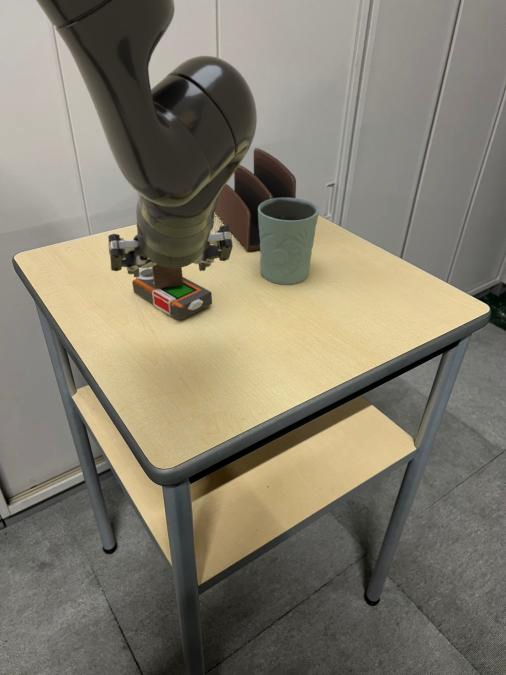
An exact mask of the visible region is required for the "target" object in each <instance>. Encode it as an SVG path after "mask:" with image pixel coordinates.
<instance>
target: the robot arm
mask: <svg viewBox="0 0 506 675" xmlns="http://www.w3.org/2000/svg"><path fill="white" fill-rule="evenodd" d="M35 1H36V2H37V4H38V5H39V7H40V9H41V10H42V11H43V13H44V14H45V16H46V17H47V19H48V20H49V22H50V23H51V25H52V26H54V29H55V31H56V32H57V34H58V35H59V36H60V38H61V39H62V41H63V43H64V44H65V46H66V47H67V49H68V51H69V52H70V54H71V57H72V59H73V61H74V63H75V66H76V67H77V69H78V71H79V73H80V76H81V78H82V80H83V82H84V85H85V88H86V89H87V92H88V94H89V96H90V99H91V102H92V104H93V106H94V109H95V111H96V114H97V117H98V119H99V122H100V125H101V128H102V131H103V133H104V136H105V139H106V142H107V144H108V147H109V150H110V152H111V154H112V157H113V159H114V161H115V163H116V165H117V167H118V169H119V170H120V172H121V174H122V175H123V177H124V179H125V180H126V181H127V182H128V184H129V185H130V187H131V188H132V189H134V191H136V192H137V195H138V196H137V197H138V198H137V201H136V209H135V210H136V213H135V215H136V233H137V234H136V235H134V237H133V239H126V240H125V238H123V237H121V236H120V234H117V233H112V234H109V235H108V237H107V238H108V254H109V257H110V269H111V271H113V272H119V271H121V270H122V268H126V271H127V274H128V275H133V278H136V277H139V269H141V268H145V269H148V268H150V267H152V266H155V265H157V264H158V265H160V266H163V267H167V268H181V267H182V268H184V267H187V266H190V265H192V264H195V265H198V270H199V272H203V271H206V269H207V268H209V267H211V265H212V264H213V263H215V259H216V260H217V259H218V260H219V261H220V262H227V261H228V260H230V257H231V253H232V250H233V248H234V245H233V240H232V232H231V231H230V226H228V225H225V224H223V225H221V226H219V227H218V228H219V229H217V230H215V232H214V233H213V232H212V230H213V228H214V225H215V214H216V213H215V208H216V205H217V202H218V197H219V194H220V192H221V191H222V189H223V188H224V186H225V185H226V184H228V182H229V181H230V179H232V176H234V172H235V170H236V169H237V167H238V166H239V165H241V163H242V162H243V160H244V158H245V157H246V155H247V153H248V151H249V149H250V148H251V146H252V143H253V140H254V138H255V135H256V131H257V124H258V122H257V120H258V118H257V117H258V115H257V106H256V101H255V98H254V94H253V92H252V89H251V87H250V86H249V84H248V82H247V80H246V79H245V77H244V76H243V75H242V73H241V72H240V71H239V70H238V69H237V68H236V67H235V66H233V64H231V63H229V62H227V61H226V60H224V59H222V58H219V57H217V56H213V55H198V56H194V57H191V58H189V59H186V60H184V61H183V62H181V63H180V64H179V65H177V66H175V68H174V69H173V70H171V71H170V72H169V73H168V74H167V75H166V76H164V77H163V79H161V80H160V81H159V82H158V83H156V84H155V85H154V86H153V87H152V88H151V80H150V71H149V70H150V69H149V68H150V67H149V66H150V63H151V59H152V57H153V54H154V52H155V50H156V48H157V46H158V44H160V42H161V41H162V39H163V37H164V36H165V34H166V32H167V31H168V29H169V27H170V26H171V24H172V22H173V19H174V17H175V11H176V6H175V0H35Z"/></svg>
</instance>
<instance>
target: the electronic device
mask: <svg viewBox="0 0 506 675" xmlns="http://www.w3.org/2000/svg"><path fill="white" fill-rule="evenodd" d="M182 277H183V285H181V286H173V287H165V288H157V289H155V285H154V281H153V275H152V267H150V268H148V269H145V268H139V277H135V278H134V279H132V282H131V283H132V284H131V285H132V289H133V293H134V294H136V295H138V296H139V297H141V298H143V299H144V300H146V301H147V302H149V303H151V304H152V305H153V307H155V308H156V309H158V310H160V311H161V312H163V313H165V314H167V315H168V316H170V317H173V318H175V319H177V320H179V321H180V320H182V319H184V318H186V317H188V316H191V315H193V314H194V313H197V312H199V311H201V310H203V309H205V308H207V307H209V306H211V305H213V296H212V294H213V293H212V291H210V290H209V289H207V288H204V287H203V286H201V285H200V284H197V283H195V282H193V281H191V280H190V279H188V278H186V277H184V276H182Z"/></svg>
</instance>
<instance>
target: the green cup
mask: <svg viewBox="0 0 506 675" xmlns="http://www.w3.org/2000/svg"><path fill="white" fill-rule="evenodd" d="M319 212H320V209H319V207H318V206H317V205H316V204H315V203H313V202H312V201H308V200H305V199H302V198H297V197H296V198H274V199H270V200H266V201H264V202H262V203H261V204H260V205H259V206H258V221H259V235H260V250H259V252H260V261H259V265H260V275H261V276H262V278H264V279H265V280H266V281H269V282H270V283H273V284H276V285H283V286H285V285H286V286H287V285H289V286H291V285H297V284H300V283H302V282H304V281H305V280H306V279H307V278H308V276H309V274H310V268H311V259H312V255H313V247H314V242H315V235H316V229H317V224H318V219H319Z"/></svg>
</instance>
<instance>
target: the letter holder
mask: <svg viewBox="0 0 506 675" xmlns="http://www.w3.org/2000/svg"><path fill="white" fill-rule="evenodd" d="M233 181H234V184H233V185H234V187H231V186H230V185H229V184H228V183H226V185H225V186H224V188H223V189H222V191H221V192H220V194H219V197H218V202H217V205H216V208H215V214H216V215H217V217H218V218H219V219H220V220H221V222H222V223H223V225H228V226H230V232H231V234H232V235H233V236H234V237H235V238H236V239H237V241H238V242H239V243H240V244H241V246H242V247H243V248H244V249H245V251H247V252H253V251H260V235H259V221H258V206H259V205H260V204H261V203H262V202H264V201H266V200H270V199H274V198H297V197H296V195H297V194H296V193H297V179H296V177H295V175H294V174H293V173H292V172H291V171H290V169H288V167H287V166H286V165H284V163H282V162H281V161H280V160H279V159H278V158H276V157H274V156H273V155H272V154H270V153H269V152H267V151H265V150H263V149H260V148H259V147H258V148H257V147H255V148H254V149H253V172H252V171H250V170H249V169H248V168H246V167H245V166H243V165H241V164H239V166H238V167H237V169H236V170H235V172H234V173H233ZM233 188H234V189H233Z"/></svg>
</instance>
